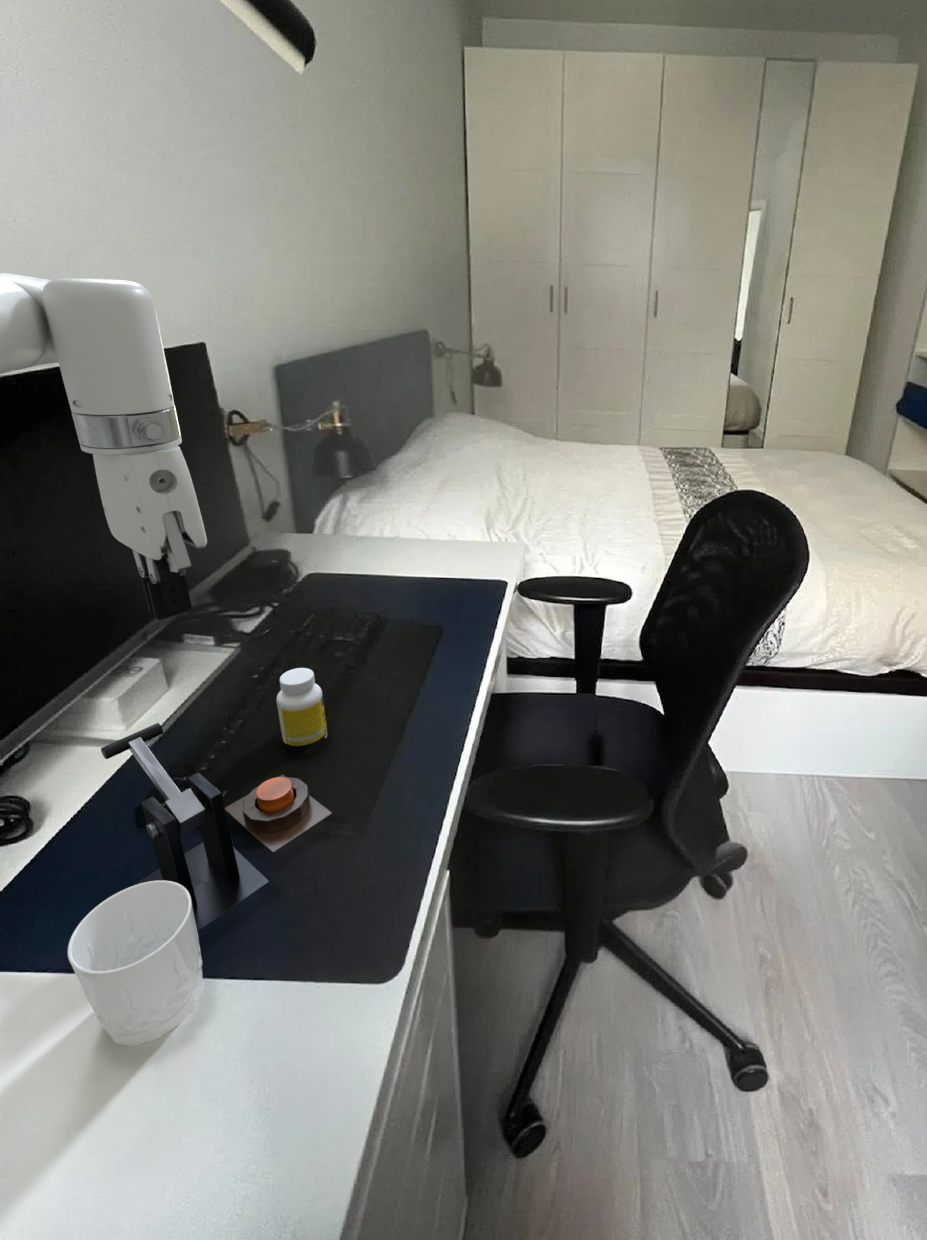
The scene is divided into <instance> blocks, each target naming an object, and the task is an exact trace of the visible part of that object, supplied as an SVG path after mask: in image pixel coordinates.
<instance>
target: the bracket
mask: <svg viewBox="0 0 927 1240" xmlns="http://www.w3.org/2000/svg"><path fill="white" fill-rule="evenodd" d="M187 783H188V785H189V788H190V789H191V790H192V792H193V793H194V794H195V796H196V797H197V798H198V800H199V801H200V802H201V804H202V805H203V806H204V808H205V824H203V825H201V826H199V827H198V828H199V830H200V835H201V839H202V842H201V843H199V844H198V845H196V846H194V847H193V848H191V849H189V850H188V851H186V852H184V851H185V850H184V847H183V844H182V840H181V837H180V836H179V832H178V828H177V824H176V821H175V818H174V817H173V816H172V815H171V814H170V813H169V812H168V811H167V810H166V809H165V806H163V805H162V804H161V802H159V801H158V800H157V799H156V798H155V797H154V796H150V797H149V798H147V799H144V800H143V801H141V802H140V803H141V804H140V805H141V807H142V811H143V815H144V819H145V822H146V825H145V829H146V831H147V834H148V835H149V837H150V840H151V843H152V846H153V851H154V854H155V857H156V860H157V864H158V867H159V868H158V869H156V870H155V871H153V872H151V873H150V874H148V875H147V876H144V877H143V878H142V879H139V880H138V881H136V882H135V885H137V884H141V883H145V882H149V881H158V880H165V881H172V882H176V883H178V884H180V885H182V886H184V887H185V888H186V889H187V891H188V892H189V894H190V897H191V901H192V907H193V912H194V917H195V922H196V927H197V932H198V933H200V931H203V929H205V928H206V927H208V926H209V925H211V924H212V923H214V922H216V920H218V919H219V918H222V916H224V915H225V914H227V913H228V912H229V911H231V910H232V909H233V908H235V907H236V906H238V905H240V904H241V903H242V902H244V901H245V900H247V899H248V898H249V897H251V896H252V895H254V894H255V893H256V892H258V891H259V890H261V889H262V888H263V887H265V886H266V885H268V884H269V883H270V882H271V880H269V879H268V877H266V876H265V875H264V874H263V873H262V872H261V871H260V870H259V869H258V868H256V866H254V864H252V863H251V862H250V861H249V860H248V859H247V858H246V857H245V856H244V855H243V854H242V853H241V852H240V851H239V850H237V848H236V847H234V844H233V839H232V836H231V835H232V834H231V831H230V826H229V822H228V817H227V811H225V808H226V807H225V804H224V799H223V795H222V792H221V791H220V790H219V789H218V788H217V787H216V786H214V785H213V784H212V783H211V781H209V780H207V778H205V777H204V776H203V774H201V773H199V772H196V773H194V774H192V775H190V776H188V777H187Z"/></svg>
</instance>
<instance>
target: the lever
mask: <svg viewBox="0 0 927 1240" xmlns="http://www.w3.org/2000/svg"><path fill="white" fill-rule="evenodd" d="M163 734H164V729H163V727H162V725H161V724H160V723H159V722H157V723H154V724H152V725H150V726H147V727H145V728H143V729H141V730H139V731H136V732H134V733H132V734H130V735H127V736H125V737H123V738H121V739H119V740H116V741H113V742H111V743H109V744H107V745H105V746H103V747H101V748H100V752H101V755H102V756H103V758H104V759H105V760H108V759H111V758H113V757H115V756H117V755H120V754H122V753H124V752H126V751H128V750H129V751H130V753H131V754H132V755H133V757H134V758H135V760H136V761H137V762H138V764H139V765H140V766H141V768H142V770H143V771H144V772H145V773H146V775H147V776H148V777H149V779H150V781H151V782H152V783H153V785H154V786H155V788H156V789H157V790H158V792H159V793H160V795H161V796H162V797H163V799H164V800H165V801H164V808H165V809H166V810H167V811H168V812H169V813H170V814H171V815H172V816H173V817H174V818H175V821H176V824H177V828H178V832H179V836H180V838H182V837H185V835H187V834H189V833H190V832H193V831H195V830H196V829H198V828H200V827H199V826H201V825H203V824H205V808H204V806H203V805H202V804H201V802H200V801H199V800H198V798H197V797H196V796H195V794H194V793H193V792H192V790H191V789H190V787H189V788H187V789H185V790H184V791H182V792H181V790H180V789H179V788H178V786H177V785H176V783H175V782H174V780H173V779H172V778H171V776H170V775H169V774H168V772H167V771H166V770H165V769H164V766H162V764H161V763H160V761H159V760H158V759H157V757H156V756H155V755H154V754H153V752H152V750H151V749H150V747H148V745H147V744H146V742H148V741H150V740H152V739H154V738H156V737H159V736H161V735H163Z"/></svg>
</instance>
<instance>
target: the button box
mask: <svg viewBox="0 0 927 1240" xmlns="http://www.w3.org/2000/svg"><path fill="white" fill-rule="evenodd" d="M278 777H285V778H288V779H290V780H291V782H292V786H293V792H294V799H293V801H292V803H291V804H290V805H289V806H287V807H285V808H284V809H282V810H278V811H274V812H271V813H270V812H263V811H261V810H260V809H259V807H258V802H257V797H256V791H257V788H258V787H259V786H260V785H258V786H256V787H254V788H253V789H251V790H250V792H249V793H248V794H245V795H244V796H243V797H241V798H239V799H238V800H236V801H234V802H232V803H231V804H229V805H227V806H226V807H224V808H225V812H226V813H227V814H229V816H231V817H232V818H233V819H234V820H235V821H236V822H237V823H238V824H240V825H241V826H242V828H244V829H245V830H246V831H247V832H249V833H250V834H251V836H253V838H255V839H256V840H257V841H259V842H260V844H262V845H263V846H264V847H265V848H266V849H267V850H268V851H270V853H272V854H274V853H276V852H278V851H279V850H280V849H282V848H283V847H285V846H286V845H288V844H290V843H291V842H292V841H294V840H295V839H297V838H298V837H300V836H301V835H303V834H304V833H306V832H307V831H309V830H310V829H312V828H314V827H315V826H316V825H318V824H320V823H321V822H322V821H324V820H325V819H327V818H328V817H330V816H331V815H333V812H332V811H331V810H330V809H328V808H327V807H326V806H325V805H323V804H322V803H320V802H319V801H318V800H317V799H315V798H314V797H312V796H311V795H310V792H309V786H308V784H306V783H305V782H304V781H303V780H302V779H300V778H298V777H288V776H286V775H284V774H281V775H279V776H278Z"/></svg>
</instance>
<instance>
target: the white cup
mask: <svg viewBox="0 0 927 1240" xmlns="http://www.w3.org/2000/svg"><path fill="white" fill-rule="evenodd" d="M199 939H200V938H199V932H197V927H196V922H195V917H194V912H193V907H192V901H191V897H190V894H189V892H188V891H187V889H186V888H185V887H184V886H182V885H180V884H178V883H176V882H172V881H165V880H158V881H149V882H145V883H141V884H137V885H136V884H134V885H132V886H129V887H126V888H123V889H122V890H120V891H117V892H116V893H114V894H112V895H111V896H109V897H107V898H106V899H105V900H103V901H102V902H100V903H99V904H98V905H96V906H95V907H94V908H93V909H92V910H90V911H89V912H88V913H87V914H86V915H85V917H83V918H82V920H80V922H79V923H78V925H77V926H76V928H75V929H74V931H73V932H72V934H71V936H70V939H69V942H68V945H67V958H68V961H69V964H70V966H71V967H72V969H73V972H74V974H75V976H76V978H77V980H78V982H79V984H80V986H81V988H82V991H83V992H84V995H85V997H86V999H87V1001H88V1003H89V1005H90V1006H91V1009H92V1010H93V1012H94V1015H95V1016H96V1018H97V1020H98V1022H99V1023H100V1025H101V1026H102V1027H103V1029H104V1031H105V1032H106V1034H107V1035H108V1036H109V1037H110V1039H111V1040H112V1041H113V1042H114V1043H115V1044H117V1045H126V1046H133V1047H136V1046H139V1045H142V1044H147V1043H150V1042H152V1041H156V1040H158V1039H160V1038H161V1037H163V1036H164V1035H167V1033H169V1032H170V1031H172V1030H174V1029H176V1027H178V1026H180V1025H181V1024H182V1022H184V1020H185V1019H186V1018H187V1017H188V1016H189V1015H190V1013H192V1011H193V1010H194V1009H195V1008H196V1007H197V1004H198V1003H199V1000H200V998H201V995H202V993H203V990H204V988H205V986H204V985H205V983H204V974H203V959H202V950H201V946H200V940H199Z"/></svg>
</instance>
